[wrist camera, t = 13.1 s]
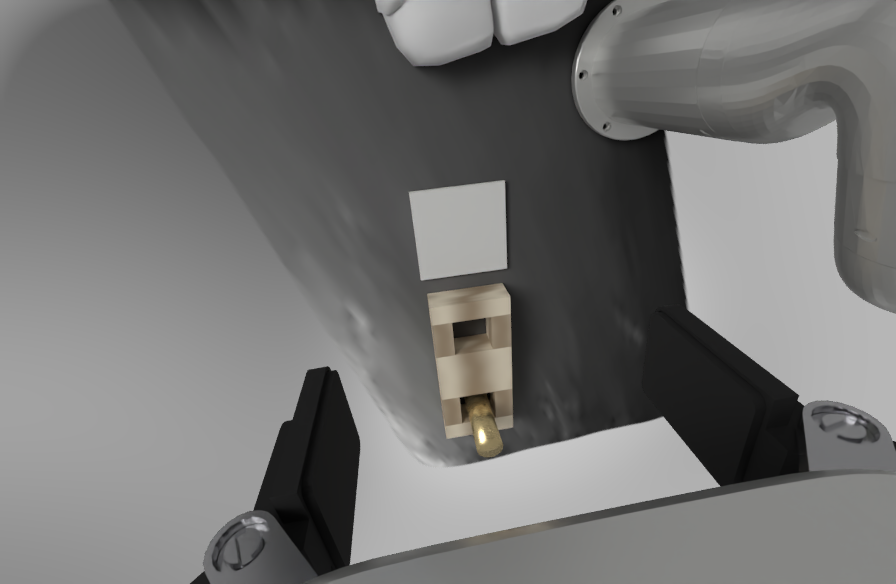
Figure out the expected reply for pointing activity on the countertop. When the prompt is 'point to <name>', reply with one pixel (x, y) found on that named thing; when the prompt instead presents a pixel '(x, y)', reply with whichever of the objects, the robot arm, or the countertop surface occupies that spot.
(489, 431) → the brass peg
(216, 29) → the countertop surface
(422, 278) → the rubber mat
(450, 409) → the hole block
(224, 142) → the countertop surface
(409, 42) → the lung model
